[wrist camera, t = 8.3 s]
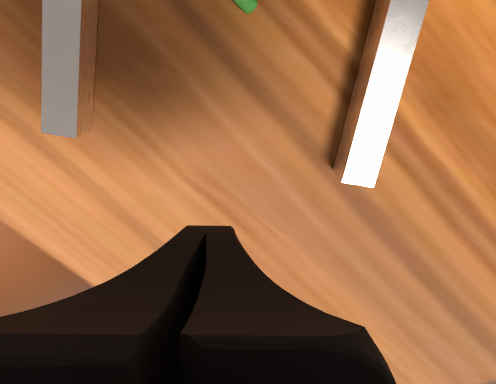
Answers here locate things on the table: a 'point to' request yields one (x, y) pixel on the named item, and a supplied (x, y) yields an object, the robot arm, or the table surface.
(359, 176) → the rail dock
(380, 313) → the table surface
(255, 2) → the gear
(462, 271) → the table surface
